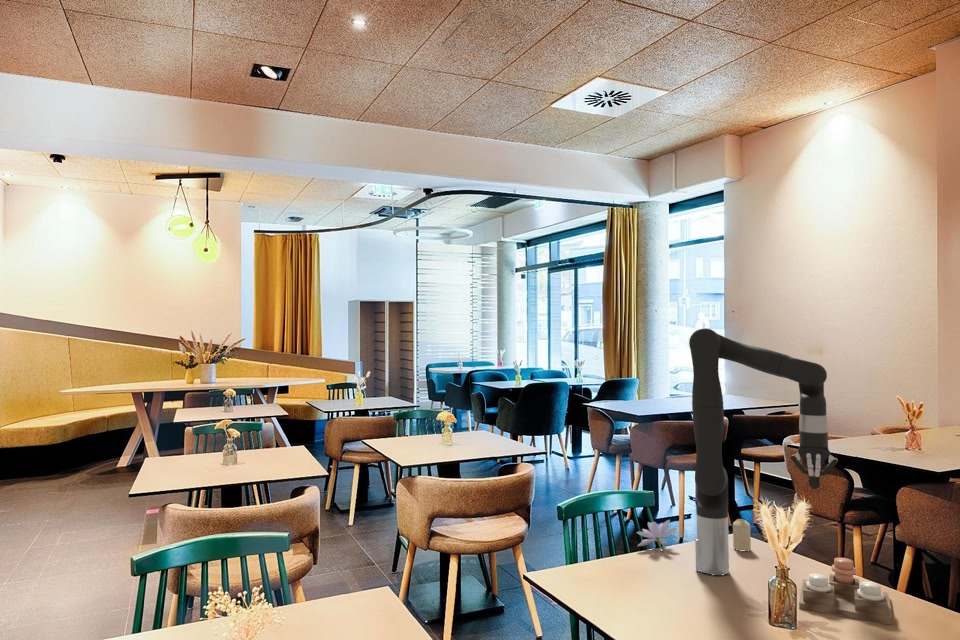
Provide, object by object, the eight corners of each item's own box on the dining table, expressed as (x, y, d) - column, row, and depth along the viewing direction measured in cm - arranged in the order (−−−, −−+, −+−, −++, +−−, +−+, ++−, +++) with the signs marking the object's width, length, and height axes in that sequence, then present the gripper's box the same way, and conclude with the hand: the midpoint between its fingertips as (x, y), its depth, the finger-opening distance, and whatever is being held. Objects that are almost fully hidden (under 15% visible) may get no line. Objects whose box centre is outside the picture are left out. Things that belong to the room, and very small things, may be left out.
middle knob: (831, 583, 178) (831, 561, 178) (832, 576, 183) (831, 555, 183) (856, 587, 175) (856, 565, 175) (856, 579, 180) (855, 558, 180)
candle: (752, 552, 216) (751, 522, 216) (735, 551, 217) (734, 521, 217) (748, 547, 221) (748, 518, 222) (732, 546, 222) (731, 517, 223)
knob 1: (805, 600, 172) (805, 578, 172) (807, 592, 177) (806, 571, 178) (831, 604, 169) (830, 582, 169) (831, 596, 174) (831, 575, 175)
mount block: (799, 608, 171) (798, 591, 171) (803, 584, 188) (802, 568, 188) (892, 625, 161) (892, 606, 161) (888, 598, 177) (887, 581, 177)
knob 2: (857, 609, 166) (857, 586, 166) (857, 600, 171) (856, 579, 172) (885, 614, 163) (884, 590, 163) (883, 605, 168) (883, 583, 169)
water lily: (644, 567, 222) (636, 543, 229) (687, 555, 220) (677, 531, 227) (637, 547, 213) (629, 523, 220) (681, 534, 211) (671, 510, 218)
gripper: (787, 430, 190) (788, 488, 190) (838, 433, 184) (839, 494, 183) (789, 426, 197) (791, 483, 196) (839, 429, 190) (840, 488, 190)
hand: (814, 488), depth 190 cm, fingers closed
